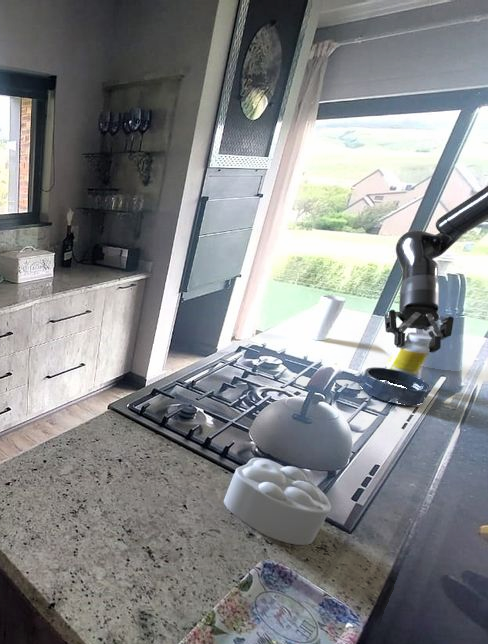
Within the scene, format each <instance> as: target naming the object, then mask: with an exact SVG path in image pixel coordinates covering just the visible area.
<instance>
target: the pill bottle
mask: <svg viewBox="0 0 488 644" xmlns="http://www.w3.org/2000/svg"><path fill="white" fill-rule="evenodd" d="M431 339H432V338H431V337H430V336H428V335H427V334H425V333H420V332H413V331H411V332H408V333H407V335H405V345H404V346H403V347H401V348H397V347H396V346H395V348H394V350H393V352H392V354H391V356H390V358H389V359H388V361H387V363H386V365H385V367H384V368H388V369H393V370H398V371H402V372H405V373H408V374H411V375H414V376H417V374H418V372H419V370H420V369H421V367H422V365H423V363H424V362H425V360H426V358H427V357H428V356H429V353H430V352H429V351H430V348H429V345H428V344H429V342H430V341H431Z"/></svg>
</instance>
